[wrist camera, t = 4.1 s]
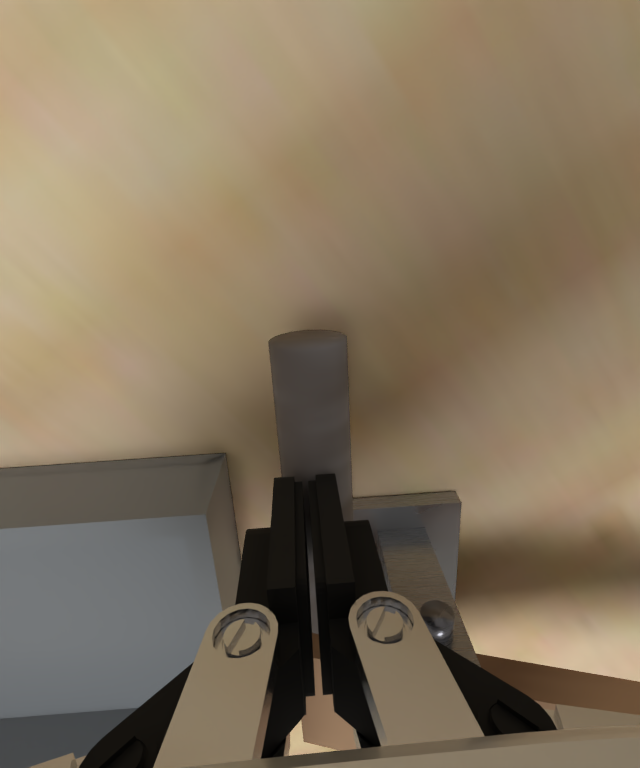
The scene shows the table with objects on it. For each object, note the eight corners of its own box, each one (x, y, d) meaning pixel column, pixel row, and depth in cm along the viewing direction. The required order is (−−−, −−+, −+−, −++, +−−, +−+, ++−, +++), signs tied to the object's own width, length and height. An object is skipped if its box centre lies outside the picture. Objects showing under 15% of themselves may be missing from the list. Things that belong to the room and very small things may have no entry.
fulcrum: (455, 491, 19) (539, 640, 12) (446, 641, 22) (509, 826, 15) (338, 499, 19) (359, 653, 12) (346, 649, 22) (366, 838, 15)
